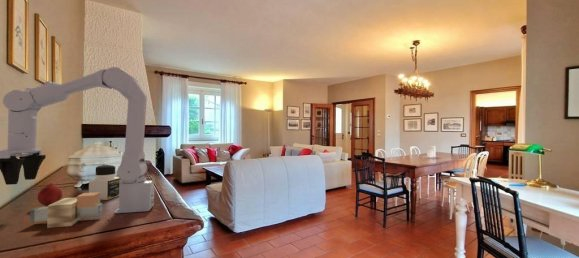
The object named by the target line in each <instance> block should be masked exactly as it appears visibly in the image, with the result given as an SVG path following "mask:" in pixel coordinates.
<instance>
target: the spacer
mask: <svg viewBox="0 0 579 258" xmlns="http://www.w3.org/2000/svg"><path fill="white" fill-rule="evenodd" d="M76 197H77V208H79V207H94V206H96V205H97V204H99V203H101V200H100V192H94V193H89V192H83V193H81V194H79V195H77V196H76Z"/></svg>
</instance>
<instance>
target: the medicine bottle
mask: <svg viewBox="0 0 579 258" xmlns="http://www.w3.org/2000/svg"><path fill="white" fill-rule="evenodd" d="M120 180H121V179H120V178H119V177H118V176H116V166H115V165H113V164H102V165H98V166H96V167H95V178H93V179H89V180H88V193H94V192H100V201H105V200H106V201H108V200H112V199H115V198H117V197H119V181H120Z"/></svg>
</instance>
